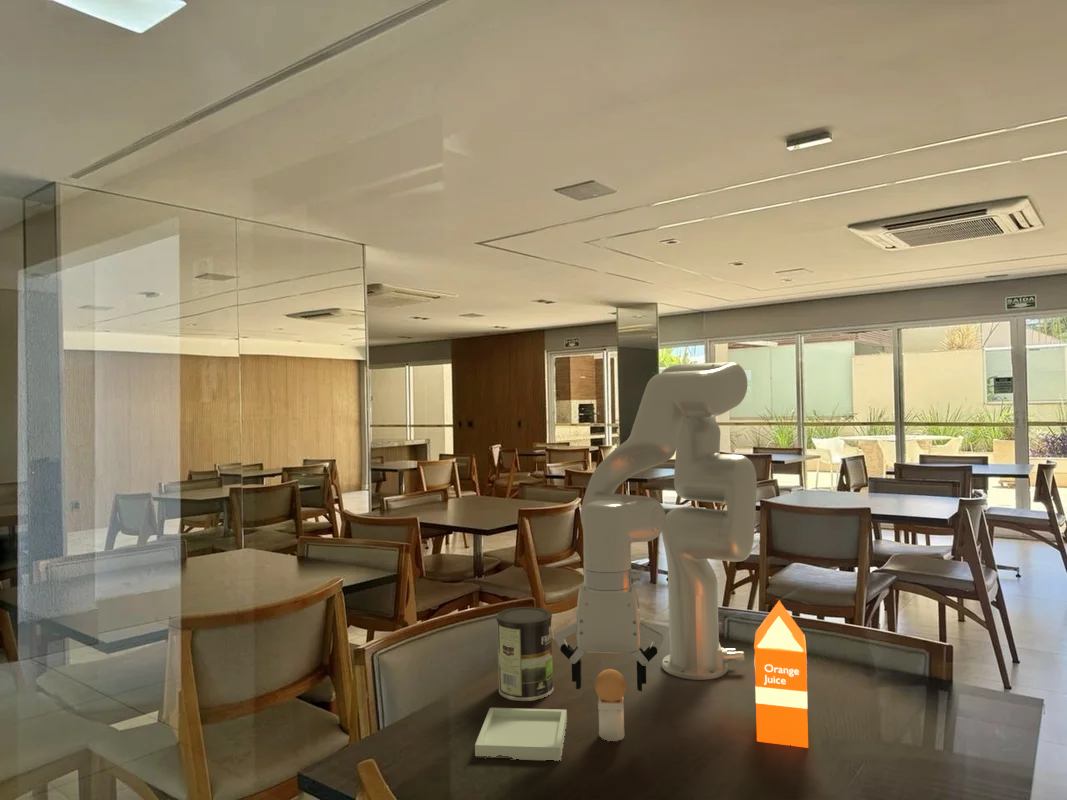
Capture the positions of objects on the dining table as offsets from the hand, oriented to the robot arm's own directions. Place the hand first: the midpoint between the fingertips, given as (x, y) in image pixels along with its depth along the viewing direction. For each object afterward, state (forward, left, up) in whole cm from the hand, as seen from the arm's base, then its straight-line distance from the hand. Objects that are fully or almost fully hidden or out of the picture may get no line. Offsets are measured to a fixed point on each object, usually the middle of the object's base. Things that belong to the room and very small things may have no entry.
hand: (609, 686), depth 115 cm
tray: (+14, +2, -8) cm, 16 cm away
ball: (0, 0, 0) cm, 0 cm away
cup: (0, 0, -8) cm, 8 cm away
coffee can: (+16, -17, -8) cm, 25 cm away
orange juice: (-27, -3, -8) cm, 29 cm away
